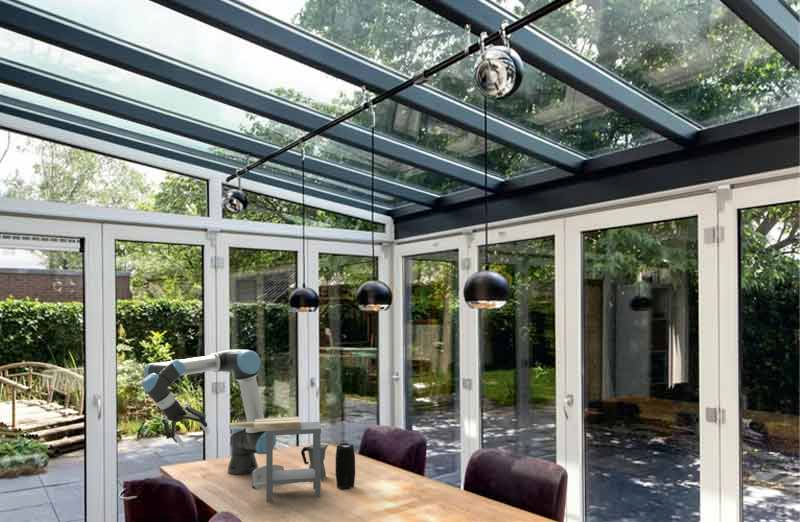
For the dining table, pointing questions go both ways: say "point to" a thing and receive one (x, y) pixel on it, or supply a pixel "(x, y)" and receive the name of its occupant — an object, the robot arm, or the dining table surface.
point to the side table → (296, 474)
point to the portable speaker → (345, 466)
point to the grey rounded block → (262, 476)
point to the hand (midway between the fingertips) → (196, 439)
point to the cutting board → (269, 424)
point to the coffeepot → (310, 451)
